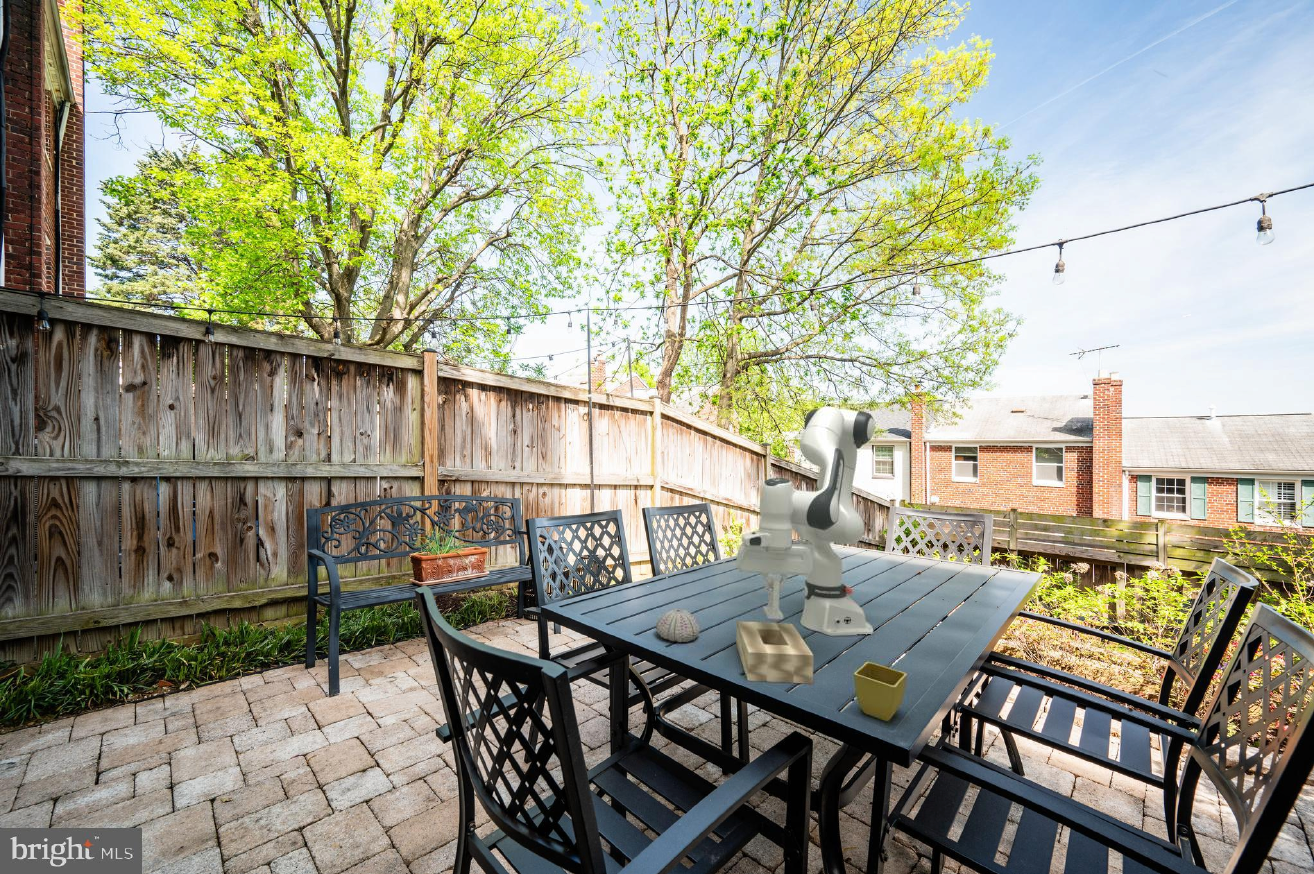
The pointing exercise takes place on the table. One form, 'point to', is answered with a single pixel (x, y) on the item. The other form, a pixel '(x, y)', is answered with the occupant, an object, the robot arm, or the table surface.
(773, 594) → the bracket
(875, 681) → the flower pot
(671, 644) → the table surface
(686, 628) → the sea urchin shell
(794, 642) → the well block
